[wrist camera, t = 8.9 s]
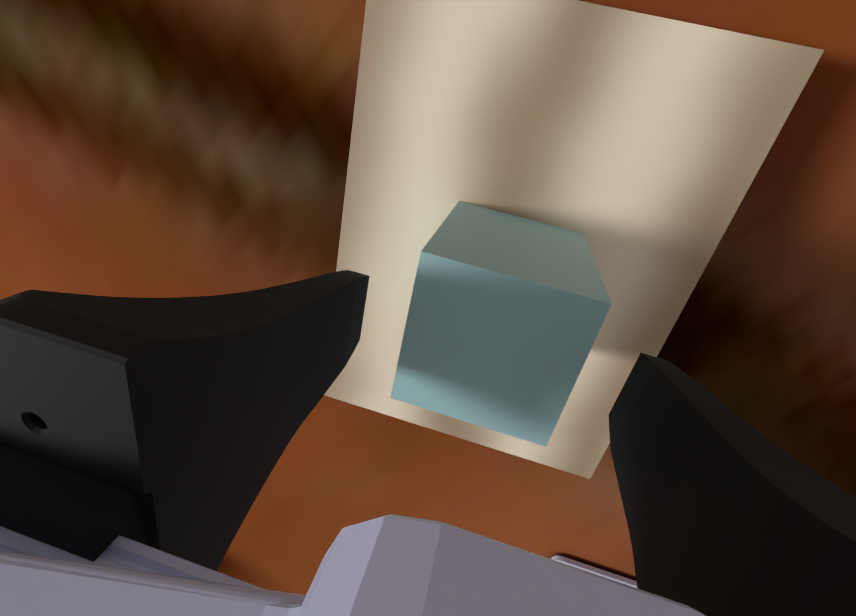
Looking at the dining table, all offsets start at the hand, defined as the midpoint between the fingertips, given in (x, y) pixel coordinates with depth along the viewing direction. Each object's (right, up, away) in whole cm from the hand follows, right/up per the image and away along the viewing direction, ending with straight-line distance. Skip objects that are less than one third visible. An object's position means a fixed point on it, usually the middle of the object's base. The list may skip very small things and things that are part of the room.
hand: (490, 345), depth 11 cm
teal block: (+1, +2, +5) cm, 6 cm away
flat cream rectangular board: (+2, +4, +8) cm, 9 cm away
